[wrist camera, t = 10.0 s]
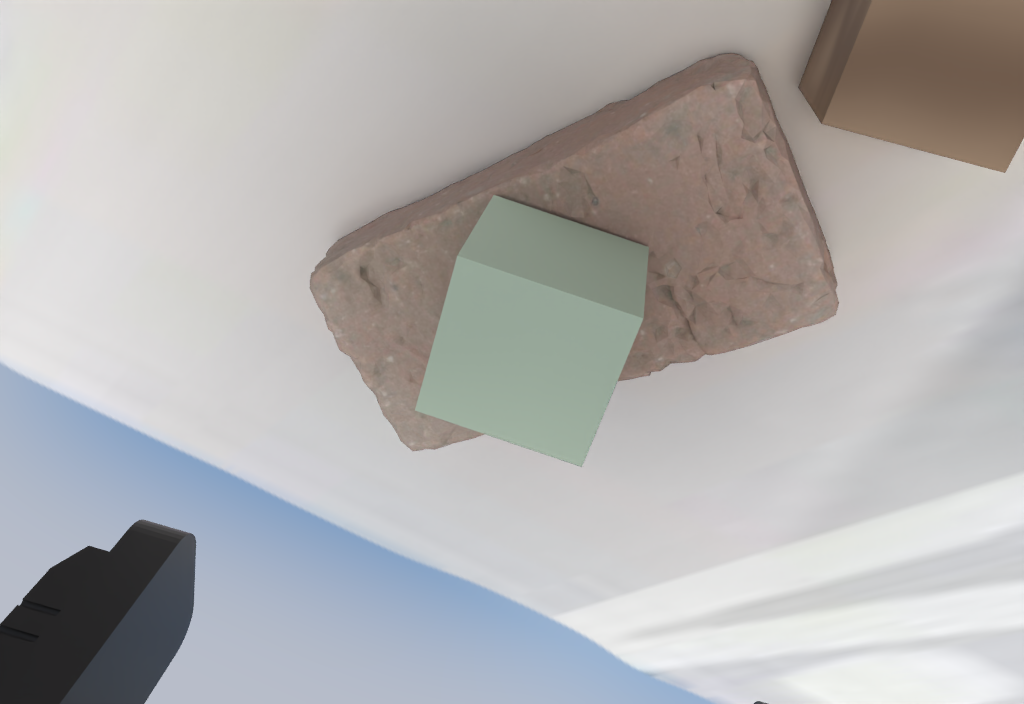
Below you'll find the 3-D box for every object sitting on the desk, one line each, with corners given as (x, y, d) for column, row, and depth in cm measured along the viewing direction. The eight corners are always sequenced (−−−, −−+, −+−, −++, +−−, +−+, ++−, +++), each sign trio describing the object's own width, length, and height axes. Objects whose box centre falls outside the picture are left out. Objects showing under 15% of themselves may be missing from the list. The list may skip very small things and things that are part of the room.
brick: (433, 409, 36) (404, 475, 32) (327, 236, 33) (278, 285, 29) (830, 258, 30) (857, 316, 26) (744, 33, 27) (759, 58, 23)
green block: (493, 194, 26) (457, 255, 22) (649, 246, 26) (643, 318, 22) (454, 331, 29) (414, 410, 24) (596, 379, 29) (581, 466, 24)
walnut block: (864, -85, 25) (905, -80, 20) (1033, -41, 25) (1111, -27, 20) (798, 86, 27) (821, 123, 23) (951, 127, 27) (1005, 172, 23)
